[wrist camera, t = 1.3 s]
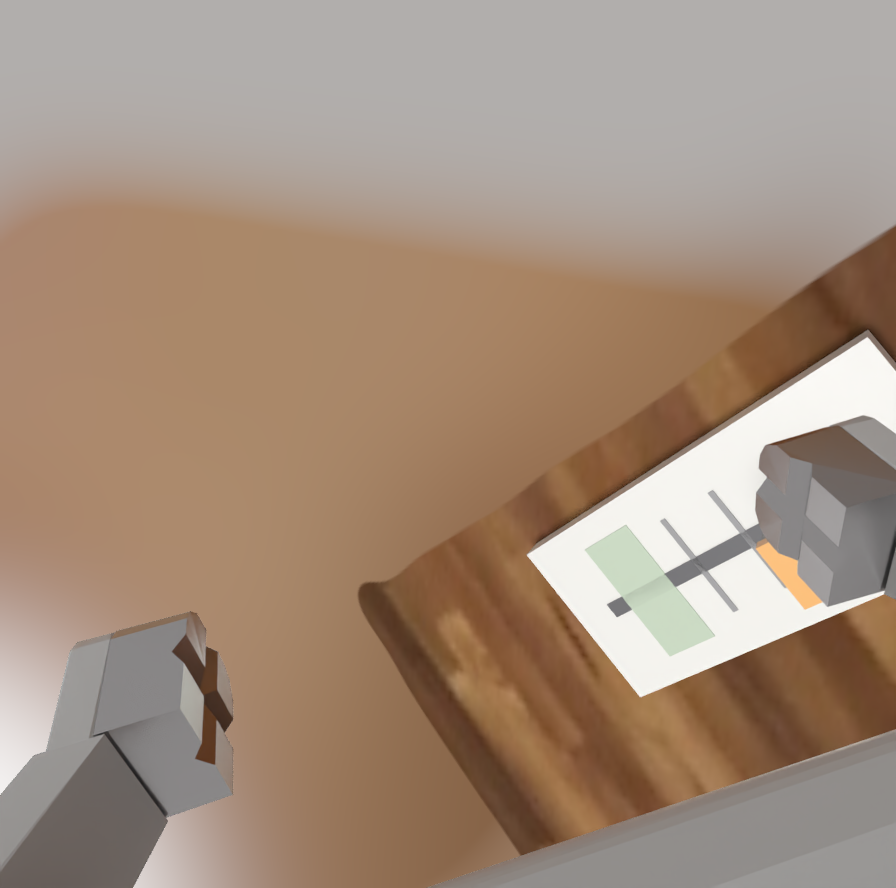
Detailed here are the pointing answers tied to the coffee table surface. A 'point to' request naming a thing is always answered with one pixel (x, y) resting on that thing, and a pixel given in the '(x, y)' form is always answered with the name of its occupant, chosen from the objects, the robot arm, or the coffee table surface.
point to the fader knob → (787, 574)
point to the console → (705, 534)
